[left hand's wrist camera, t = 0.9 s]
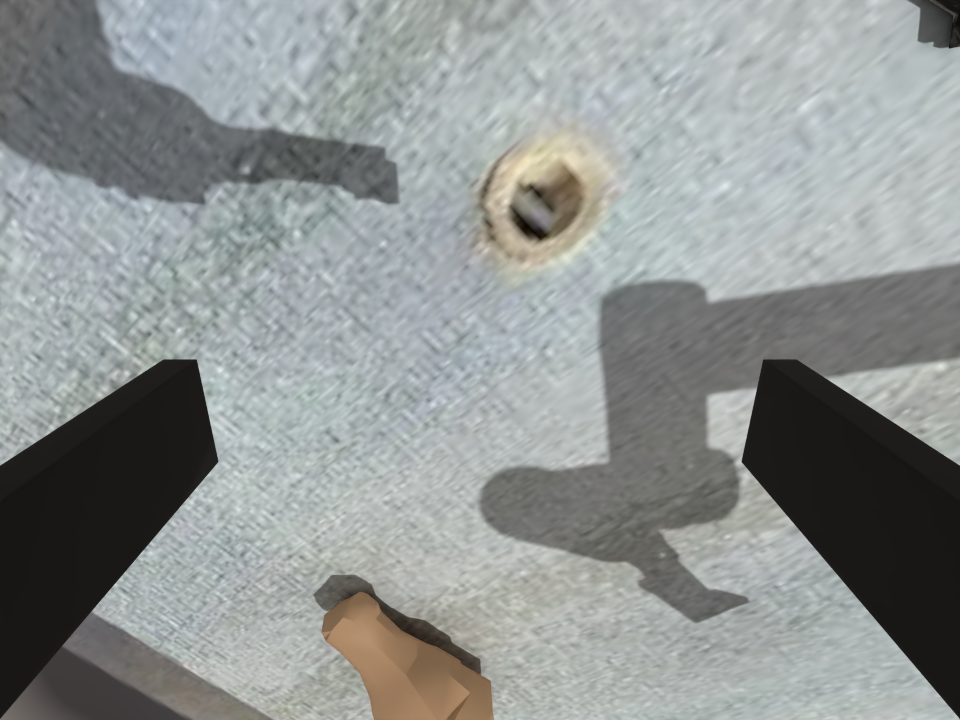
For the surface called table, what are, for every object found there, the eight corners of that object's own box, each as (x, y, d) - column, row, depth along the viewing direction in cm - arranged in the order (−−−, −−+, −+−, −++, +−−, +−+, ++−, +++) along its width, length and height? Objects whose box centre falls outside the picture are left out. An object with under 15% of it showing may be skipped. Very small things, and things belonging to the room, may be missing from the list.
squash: (446, 728, 55) (418, 827, 47) (318, 596, 53) (266, 678, 44) (525, 698, 51) (511, 801, 43) (392, 553, 48) (348, 634, 40)
